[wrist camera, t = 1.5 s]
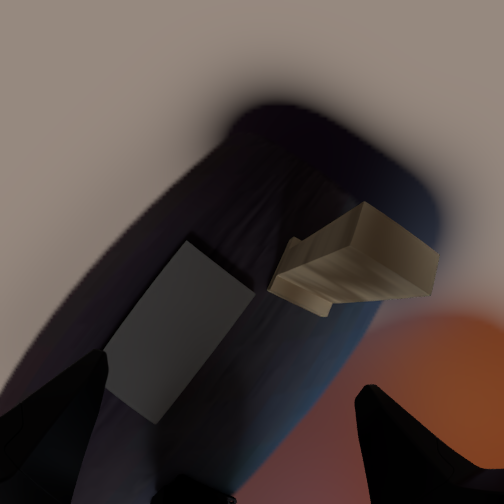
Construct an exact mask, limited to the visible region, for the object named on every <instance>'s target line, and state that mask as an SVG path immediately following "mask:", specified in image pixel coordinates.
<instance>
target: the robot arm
mask: <svg viewBox="0 0 504 504" xmlns="http://www.w3.org/2000/svg"><path fill="white" fill-rule="evenodd" d="M108 373H109V366H108V359H107V353H106V352H105V351H102V350H98V349H93V350H92V351H90V352H89V353H88V354H86V355H85V356H83V357H82V358H81V359H79V360H78V361H77V362H75V363H74V364H72V365H71V366H70V367H68V368H67V369H66V370H64V371H63V372H61V373H60V374H59V375H57V376H56V377H55V378H53V379H52V380H50V381H49V382H48V383H46V384H45V385H44V386H42V387H41V388H40V389H38V390H37V391H35V392H34V393H33V394H31V395H30V396H29V397H27V398H26V399H25V400H23V401H22V403H19V404H18V405H16V406H15V407H14V408H12V409H11V410H10V411H8V412H7V413H5V414H4V415H2V416H1V417H0V504H71V500H72V496H73V492H74V489H75V485H76V481H77V478H78V474H79V471H80V468H81V464H82V461H83V458H84V455H85V452H86V449H87V446H88V443H89V440H90V437H91V434H92V431H93V428H94V425H95V422H96V420H97V417H98V414H99V410H100V406H101V402H102V397H103V393H104V389H105V385H106V381H107V378H108ZM355 412H356V421H357V430H358V438H359V443H360V447H361V452H362V457H363V462H364V467H365V473H366V478H367V483H368V489H369V495H370V501H371V504H504V469H483V468H480V467H478V466H476V465H474V464H473V463H471V462H470V461H468V460H467V459H465V458H464V457H462V456H461V455H460V454H458V453H457V452H455V451H454V450H452V449H451V448H450V447H448V446H447V445H446V444H445V443H444V442H442V441H441V440H440V439H439V438H437V437H436V436H435V435H434V434H433V433H431V432H430V431H429V430H428V429H427V428H426V427H424V426H423V425H422V424H421V423H420V422H419V421H417V420H416V419H415V418H414V417H413V416H411V415H410V414H409V413H408V412H407V411H406V410H405V409H403V408H402V407H401V406H400V405H399V404H398V403H396V402H395V401H394V400H393V399H392V398H391V397H389V396H388V395H387V394H386V393H385V392H384V391H382V390H381V389H380V388H379V387H378V386H377V385H374V384H372V385H371V384H370V385H366V386H364V387H363V389H362V390H361V391H360V393H359V394H358V395H357V397H356V398H355ZM181 478H183V479H185V480H181ZM230 501H232V502H230ZM236 503H237V501H236V498H234V497H232V496H230V495H227V494H225V493H222V492H220V491H218V490H215V489H213V488H211V487H209V486H206V485H204V484H202V483H200V482H198V481H196V480H194V479H192V478H190V477H188V476H186V475H183V474H181V475H178V476H177V477H176V478H175V479H174V480H173V481H172V482H171V483H170V485H169V486H168V485H165V486H164V487H163V488H162V489H161V490H160V491H159V492H158V493H157V494H156V495H155V496H154V497H153V499H152V502H151V503H150V504H236Z"/></svg>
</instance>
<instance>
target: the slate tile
mask: <svg viewBox="0 0 504 504" xmlns="http://www.w3.org/2000/svg"><path fill="white" fill-rule="evenodd" d="M255 295H256V294H255V293H254V292H252V291H251V290H250V289H248V288H247V287H246V286H245V285H243V284H242V283H241V282H239V281H238V280H237V279H235V278H234V277H233V276H231V275H230V274H229V273H228V272H226V271H225V270H224V269H222V268H221V267H220V266H219V265H217V264H216V263H215V262H213V261H212V260H211V259H210V258H208V257H207V256H206V255H204V254H203V253H202V252H201V251H199V250H198V249H197V248H196V247H194V246H193V245H192V244H191V243H189V242H188V241H187V240H186V242H185V243H184V244H183V245H182V247H181V248H180V249H179V250H178V252H177V253H176V254H175V255H174V256H173V258H172V259H171V260H170V261H169V263H168V264H167V265H166V267H165V268H164V269H163V270H162V272H161V273H160V274H159V275H158V277H157V278H156V279H155V281H154V282H153V283H152V284H151V286H150V287H149V288H148V290H147V291H146V292H145V294H144V295H143V296H142V298H141V299H140V300H139V301H138V303H137V304H136V305H135V307H134V308H133V310H132V311H131V312H130V314H129V315H128V316H127V318H126V319H125V320H124V322H123V323H122V325H121V326H120V327H119V329H118V330H117V331H116V333H115V334H114V336H113V337H112V338H111V340H110V341H109V343H108V344H107V346H106V347H105V348H104V350H103V351H105V352H106V353H107V359H108V366H109V373H108V378H107V381H106V385H105V387H106V388H107V389H108V390H109V391H111V392H112V393H113V394H114V395H116V396H117V397H118V398H119V399H121V400H122V401H123V402H125V403H126V404H127V405H128V406H130V407H131V408H132V409H134V410H135V411H137V412H138V413H139V414H141V415H142V416H144V417H145V418H146V419H148V420H149V421H151V422H152V423H154V424H155V425H156V424H157V423H158V422H159V420H160V419H161V418H162V417H163V415H164V414H165V413H166V412H167V410H168V409H169V408H170V406H171V405H172V404H173V403H174V401H175V400H176V399H177V398H178V396H179V395H180V394H181V393H182V391H183V390H184V389H185V387H186V386H187V385H188V384H189V382H190V381H191V380H192V378H193V377H194V376H195V375H196V373H197V372H198V371H199V369H200V368H201V367H202V365H203V364H204V363H205V362H206V360H207V359H208V358H209V356H210V355H211V354H212V352H213V351H214V350H215V348H216V347H217V346H218V344H219V343H220V342H221V341H222V339H223V338H224V337H225V335H226V334H227V333H228V331H229V330H230V329H231V327H232V326H233V325H234V323H235V322H236V320H237V319H238V318H239V316H240V315H241V314H242V312H243V311H244V310H245V308H246V307H247V306H248V304H249V303H250V302H251V300H252V299H253V297H254V296H255Z"/></svg>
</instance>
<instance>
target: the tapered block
mask: <svg viewBox="0 0 504 504" xmlns="http://www.w3.org/2000/svg"><path fill="white" fill-rule="evenodd" d="M439 256H440V255H439V254H438V253H436V252H435V251H434V250H433V249H431V248H430V247H429V246H427V245H426V244H425V243H423V242H422V241H421V240H419V239H418V238H416V237H415V236H414V235H413V234H411V233H410V232H409V231H407V230H406V229H404V228H403V227H402V226H400V225H399V224H397V223H396V222H395V221H393V220H392V219H390V218H388V217H387V216H386V215H384V214H383V213H381V212H380V211H378V210H377V209H375V208H374V207H372V206H371V205H369V204H368V203H366V202H365V201H364V202H362V203H361V204H359V205H358V206H356V207H355V208H353V209H352V210H350V211H348V212H347V213H345V214H344V215H342V216H341V217H339V218H338V219H336V220H334V221H333V222H331V223H330V224H328V225H327V226H325V227H323V228H322V229H320V230H319V231H317V232H316V233H314V234H312V235H311V236H309V237H308V238H306V239H304V240H303V241H301V240H299V239H298V238H296V237H293V238H291V239H290V240H289V242H288V244H287V247H286V249H285V251H284V253H283V255H282V258H281V260H280V262H279V264H278V267H277V269H276V271H275V273H274V275H273V278H272V280H271V282H270V284H269V286H268V288H267V291H269V292H271V293H273V294H275V295H277V296H279V297H281V298H283V299H285V300H287V301H289V302H291V303H294V304H296V305H298V306H300V307H302V308H304V309H306V310H308V311H310V312H312V313H314V314H317V315H319V316H321V317H327V316H328V313H329V311H330V308H331V306H332V303H347V302H363V301H377V300H390V299H402V298H413V297H422V296H431V293H432V289H433V285H434V280H435V275H436V271H437V266H438V261H439Z"/></svg>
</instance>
